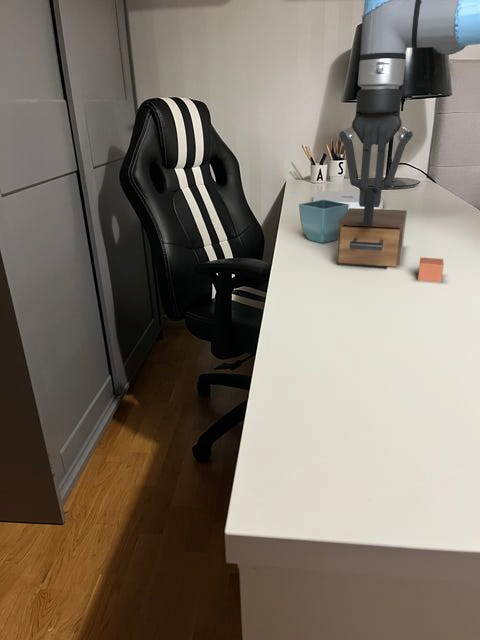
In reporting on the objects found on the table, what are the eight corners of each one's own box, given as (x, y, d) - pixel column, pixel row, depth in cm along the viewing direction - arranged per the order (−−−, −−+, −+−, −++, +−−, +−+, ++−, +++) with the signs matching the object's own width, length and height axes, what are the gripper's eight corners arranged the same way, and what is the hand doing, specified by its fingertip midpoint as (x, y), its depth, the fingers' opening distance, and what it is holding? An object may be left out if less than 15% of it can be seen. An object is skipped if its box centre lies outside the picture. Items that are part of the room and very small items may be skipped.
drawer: (394, 274, 95) (398, 237, 92) (334, 270, 98) (336, 233, 96) (399, 249, 111) (403, 216, 108) (347, 246, 115) (349, 214, 112)
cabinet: (399, 268, 101) (404, 224, 98) (336, 264, 105) (339, 221, 102) (402, 250, 114) (406, 210, 110) (346, 246, 118) (349, 208, 114)
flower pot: (322, 246, 118) (323, 208, 115) (296, 239, 125) (297, 203, 121) (347, 240, 123) (350, 204, 119) (322, 234, 130) (323, 199, 126)
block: (440, 279, 95) (443, 258, 93) (440, 285, 91) (443, 264, 90) (417, 277, 96) (420, 257, 94) (417, 284, 93) (420, 263, 91)
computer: (312, 210, 159) (312, 201, 158) (315, 198, 179) (315, 191, 178) (383, 211, 156) (384, 202, 155) (378, 199, 176) (379, 191, 175)
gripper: (338, 88, 85) (330, 226, 94) (419, 86, 81) (402, 230, 90) (344, 89, 92) (336, 218, 101) (419, 87, 88) (404, 221, 97)
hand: (367, 223), depth 96 cm, fingers closed
